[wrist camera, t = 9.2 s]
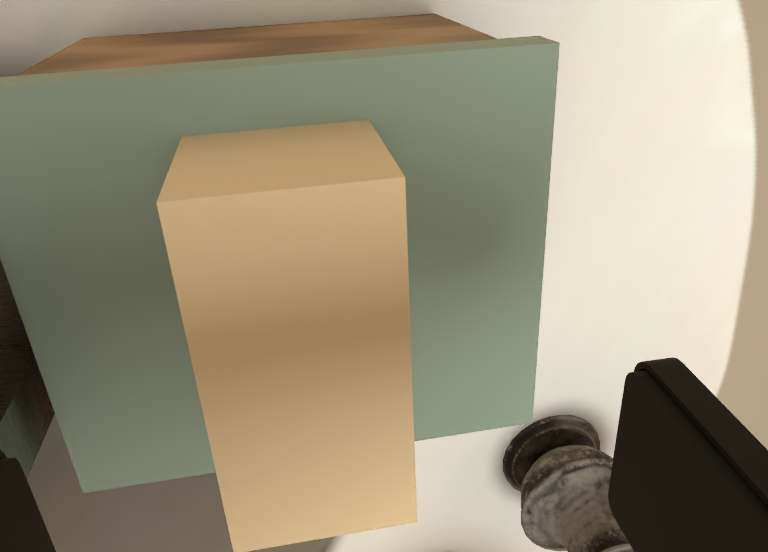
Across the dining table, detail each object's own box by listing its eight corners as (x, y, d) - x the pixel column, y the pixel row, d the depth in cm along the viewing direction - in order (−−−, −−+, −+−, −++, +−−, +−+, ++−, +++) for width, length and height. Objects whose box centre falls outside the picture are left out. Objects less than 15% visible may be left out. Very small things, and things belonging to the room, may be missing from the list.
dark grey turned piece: (542, 395, 32) (680, 613, 22) (625, 432, 34) (788, 648, 24) (475, 479, 34) (573, 718, 24) (559, 509, 36) (682, 741, 26)
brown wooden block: (147, 299, 26) (101, 452, 18) (83, 38, 22) (-15, 93, 14) (437, 264, 28) (508, 391, 20) (434, 13, 23) (525, 50, 15)
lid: (93, 461, 19) (40, 630, 14) (-35, 79, 14) (-181, 147, 9) (517, 397, 20) (593, 530, 16) (538, 35, 15) (658, 75, 11)
